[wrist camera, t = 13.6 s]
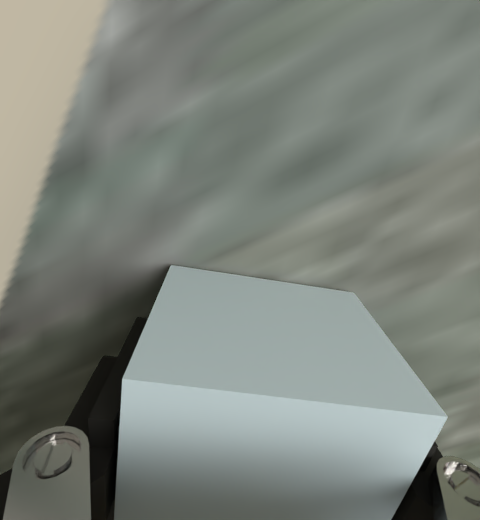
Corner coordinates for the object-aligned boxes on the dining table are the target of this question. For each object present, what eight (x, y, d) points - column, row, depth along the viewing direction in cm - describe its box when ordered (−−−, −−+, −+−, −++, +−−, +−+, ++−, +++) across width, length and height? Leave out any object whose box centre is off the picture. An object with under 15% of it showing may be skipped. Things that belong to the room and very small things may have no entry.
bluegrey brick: (307, 425, 13) (351, 591, 8) (155, 408, 12) (110, 577, 8) (353, 292, 11) (447, 416, 6) (170, 264, 10) (122, 379, 6)
